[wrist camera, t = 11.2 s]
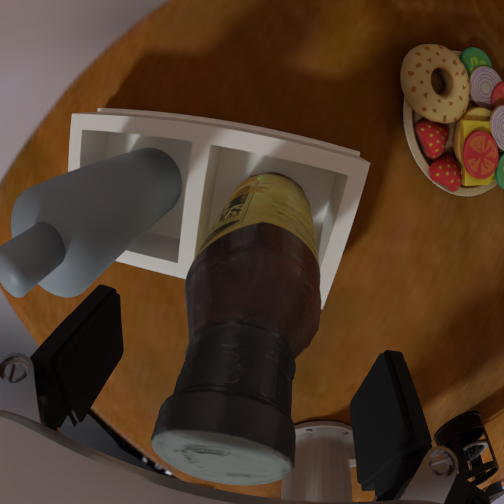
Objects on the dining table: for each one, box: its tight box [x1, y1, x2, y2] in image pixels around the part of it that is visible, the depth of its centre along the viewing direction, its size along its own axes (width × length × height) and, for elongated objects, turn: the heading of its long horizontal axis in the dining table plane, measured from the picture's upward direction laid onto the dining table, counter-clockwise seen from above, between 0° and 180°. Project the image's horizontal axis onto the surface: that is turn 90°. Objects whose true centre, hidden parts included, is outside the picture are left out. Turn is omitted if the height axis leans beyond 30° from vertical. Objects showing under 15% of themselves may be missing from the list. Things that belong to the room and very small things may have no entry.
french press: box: [434, 411, 504, 503], centre depth 27 cm, size 12×9×23 cm
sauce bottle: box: [151, 172, 322, 485], centre depth 15 cm, size 6×6×20 cm
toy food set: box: [400, 44, 504, 196], centre depth 19 cm, size 13×13×3 cm
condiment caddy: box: [0, 108, 370, 309], centre depth 18 cm, size 22×12×17 cm, turn 79°
